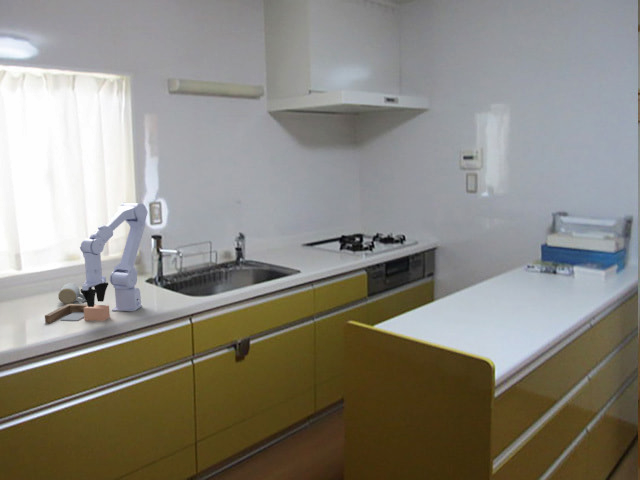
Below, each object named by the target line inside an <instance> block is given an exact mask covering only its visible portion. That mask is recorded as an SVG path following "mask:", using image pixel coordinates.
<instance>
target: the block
mask: <svg viewBox="0 0 640 480" xmlns="http://www.w3.org/2000/svg"><path fill="white" fill-rule="evenodd" d="M110 315H111V313H110V305H109V304H96V305H94V307H88V306H86V307H85V308H84V318H83V319H84V321H94V320H96V321H99V322H101V321H102V322H104V320H105V321H106V320H107V319H109V317H110V318H111V316H110ZM96 321H95V322H96Z"/></svg>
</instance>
